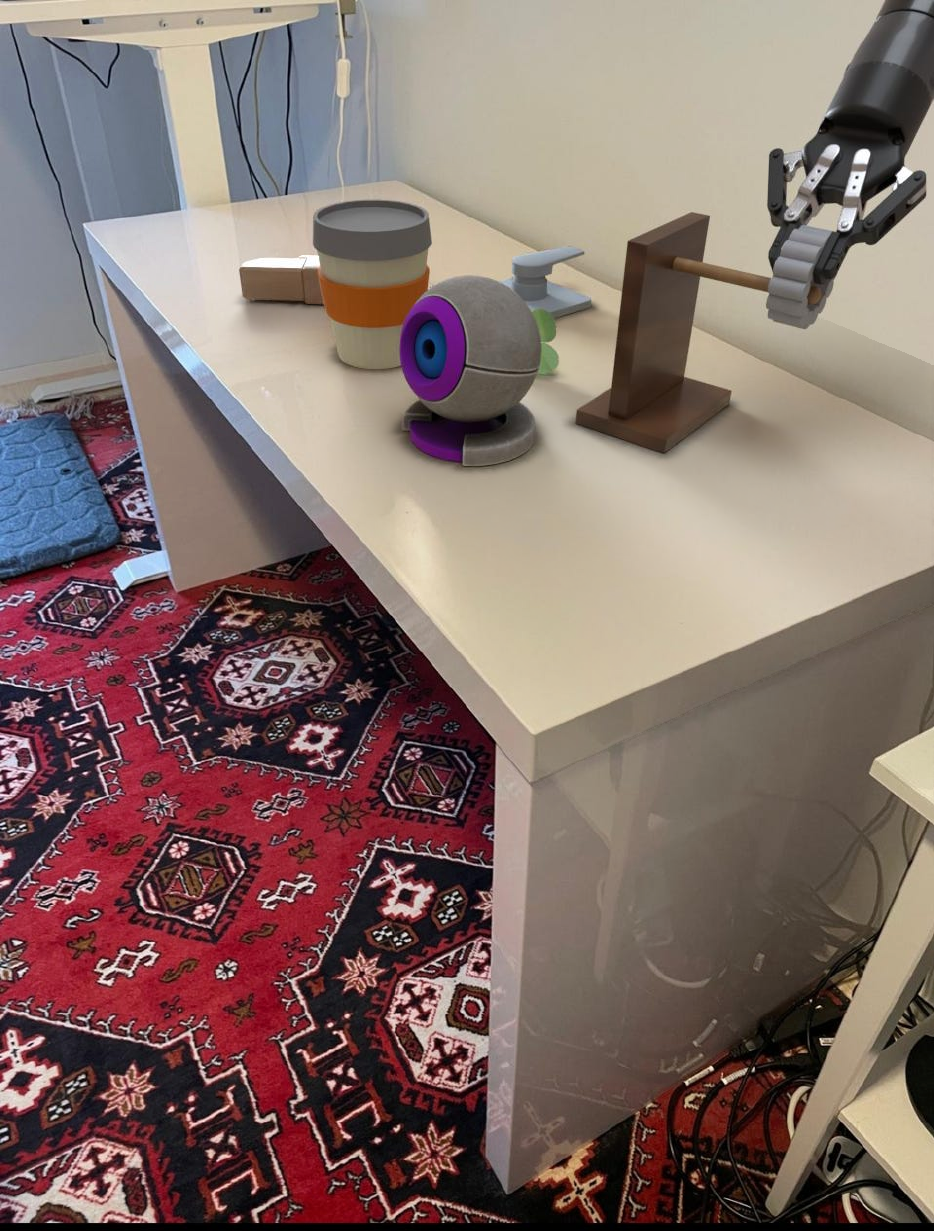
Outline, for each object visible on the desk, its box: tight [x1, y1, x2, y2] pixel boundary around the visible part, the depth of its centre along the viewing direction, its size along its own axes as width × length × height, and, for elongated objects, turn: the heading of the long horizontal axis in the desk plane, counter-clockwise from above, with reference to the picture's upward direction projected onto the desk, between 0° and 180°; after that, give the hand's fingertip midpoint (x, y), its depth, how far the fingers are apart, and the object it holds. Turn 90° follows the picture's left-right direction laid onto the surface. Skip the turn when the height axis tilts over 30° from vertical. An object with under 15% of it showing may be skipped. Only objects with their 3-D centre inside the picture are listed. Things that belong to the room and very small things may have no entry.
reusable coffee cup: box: [312, 198, 433, 370], centre depth 104 cm, size 13×13×15 cm
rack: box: [575, 211, 821, 454], centre depth 89 cm, size 19×14×18 cm
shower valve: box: [497, 245, 592, 319], centre depth 121 cm, size 12×6×15 cm
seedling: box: [532, 309, 560, 376], centre depth 107 cm, size 7×8×7 cm
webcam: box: [399, 274, 542, 467], centre depth 88 cm, size 13×13×15 cm
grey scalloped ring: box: [765, 225, 837, 330], centre depth 81 cm, size 3×8×8 cm, turn 142°
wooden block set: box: [238, 255, 324, 305], centre depth 125 cm, size 17×6×18 cm
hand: (796, 273), depth 80 cm, fingers closed on grey scalloped ring, 3 cm apart
